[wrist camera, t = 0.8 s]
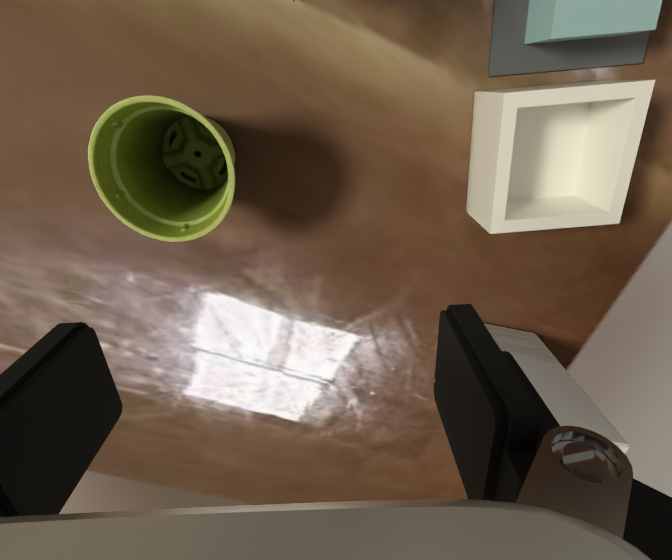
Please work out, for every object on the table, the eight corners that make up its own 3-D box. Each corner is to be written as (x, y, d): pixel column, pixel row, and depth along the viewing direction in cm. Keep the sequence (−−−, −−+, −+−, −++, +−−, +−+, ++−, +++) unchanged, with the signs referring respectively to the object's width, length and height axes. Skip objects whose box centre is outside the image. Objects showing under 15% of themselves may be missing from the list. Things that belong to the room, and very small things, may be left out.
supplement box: (430, 381, 45) (473, 507, 32) (459, 316, 41) (522, 427, 28) (503, 395, 46) (575, 522, 33) (538, 332, 42) (635, 447, 29)
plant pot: (274, 131, 33) (258, 146, 25) (229, 225, 37) (203, 263, 29) (166, 68, 31) (111, 63, 23) (129, 174, 34) (71, 201, 27)
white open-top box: (474, 91, 32) (504, 92, 27) (599, 80, 32) (655, 79, 26) (466, 211, 36) (490, 233, 31) (576, 202, 36) (619, 223, 31)
